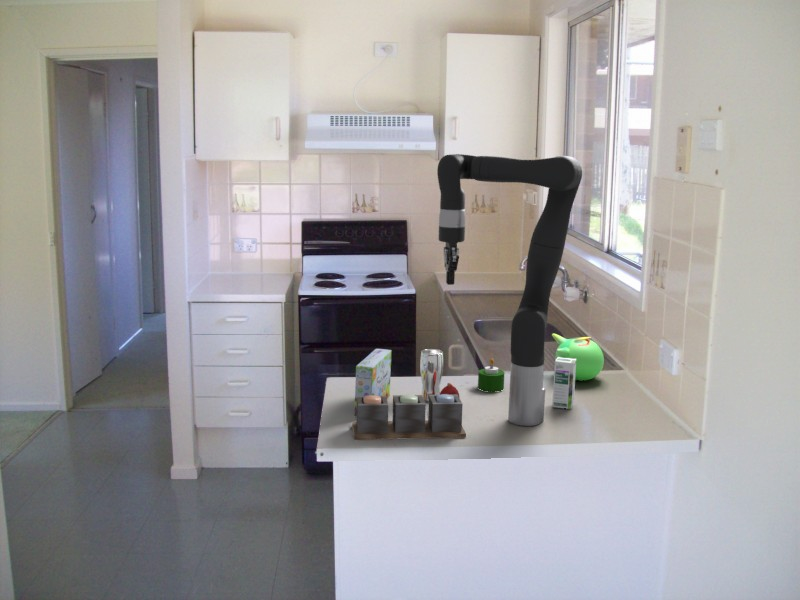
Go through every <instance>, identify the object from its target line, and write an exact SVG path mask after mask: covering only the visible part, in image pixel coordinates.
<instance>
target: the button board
mask: <svg viewBox="0 0 800 600" xmlns="http://www.w3.org/2000/svg"><path fill="white" fill-rule="evenodd" d="M414 395H415V396H417V397H418V403H400V397H401V396H403V394H399V395H398V394H397V395H392V420H389V403H388V402H389V401H388V398H386V396H380V397H381V404H363V398H364V397H365V396H357V415H356V421H352V431H353V436H354V437H353V438H354V440H355V441H357V439H366V440H398V439H397V438H413V439H444V438H445V439H446V438H447V439H452V438H453V439H455V438H467V433H466V431H465V429H464V427H463V402H462V400H461V399H460V396H459V397H458V395H457V394H453V395H452V396H454V402H452V403H437V396H438V395H429V402H428V410H427V411H428V412H427V413H428V415H427V419H428V420H426V408H427V407H426V406H427V404H426V401H424V399H423V397H422V395H421V394H414Z"/></svg>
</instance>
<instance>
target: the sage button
mask: <svg viewBox="0 0 800 600" xmlns="http://www.w3.org/2000/svg"><path fill="white" fill-rule="evenodd" d="M402 395H403V394H402ZM415 395H416V394H404V395H403V396H401V397H400V403H418V397H417V396H415Z"/></svg>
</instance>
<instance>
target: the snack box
mask: <svg viewBox="0 0 800 600" xmlns="http://www.w3.org/2000/svg"><path fill="white" fill-rule="evenodd" d="M392 352H393V351H392V349H386V348H385V349H384V348H375V349H373V350H372V351H371V352H370V353H369V354H368V355H367V356H366V357H365V358H364V359H362V360H361V361H360V362H359V363H358V364H357V365H356V366H355V386H354V387H355V390H354V416H357V396H369V395H376V396H386V398H387V399H389V398H390V396H391V368H392V367H391V366H392Z"/></svg>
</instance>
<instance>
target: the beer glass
mask: <svg viewBox="0 0 800 600" xmlns="http://www.w3.org/2000/svg"><path fill="white" fill-rule="evenodd" d="M420 352H421V353H420V361H419V363H420V364H419V366H420V370H419V372H420V378H421V385H422V386H421V387H422V391H421V393H420V395H422V397H423V399H424V402H425V403H426V402H427V403H429V395H440V392H441V389H440V388H441V387H440V386H441V381H442V377H443V371H444V352H443V351H442V350H440V349H437V348H436V349H435V348H427V349H423V350H421V351H420Z"/></svg>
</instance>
